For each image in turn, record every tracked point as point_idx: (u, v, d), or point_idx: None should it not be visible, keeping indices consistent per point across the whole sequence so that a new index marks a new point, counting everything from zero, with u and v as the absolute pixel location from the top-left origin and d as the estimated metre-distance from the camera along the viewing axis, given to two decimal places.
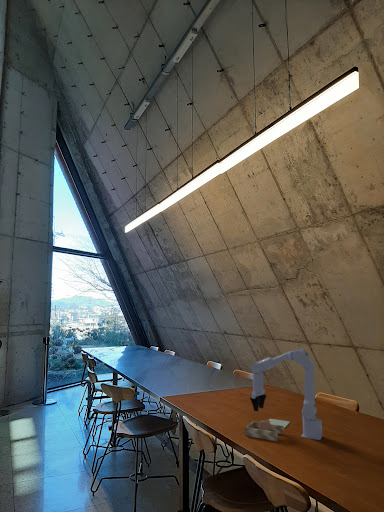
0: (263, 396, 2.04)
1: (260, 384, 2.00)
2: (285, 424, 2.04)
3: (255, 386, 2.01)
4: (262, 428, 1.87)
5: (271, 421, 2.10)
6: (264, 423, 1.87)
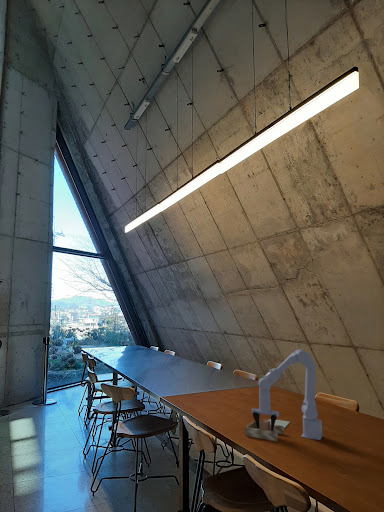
0: None
1: (269, 402, 1.89)
2: (285, 424, 2.04)
3: None
4: (262, 428, 1.87)
5: None
6: (264, 423, 1.87)
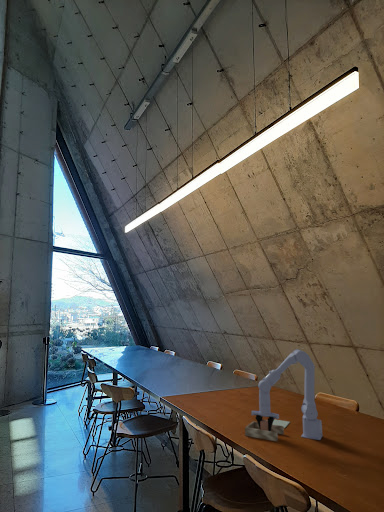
0: None
1: (269, 404, 1.88)
2: (285, 424, 2.04)
3: None
4: (262, 428, 1.87)
5: None
6: (264, 423, 1.87)
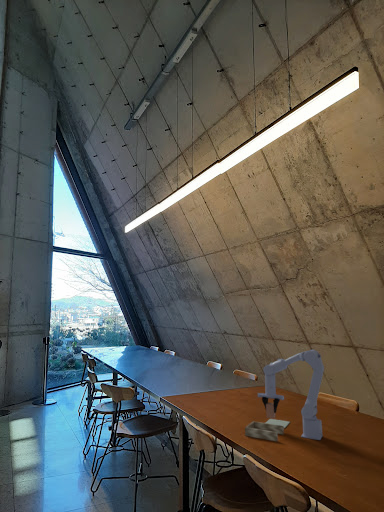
0: None
1: (272, 386, 1.99)
2: (285, 424, 2.04)
3: None
4: (268, 410, 1.97)
5: (271, 421, 2.10)
6: (270, 406, 1.97)
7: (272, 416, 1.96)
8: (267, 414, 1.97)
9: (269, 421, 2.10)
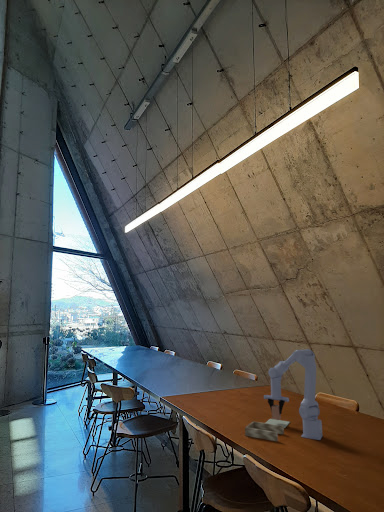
0: None
1: (275, 389, 2.07)
2: (285, 424, 2.04)
3: None
4: (273, 412, 2.06)
5: (271, 421, 2.10)
6: (275, 408, 2.06)
7: (277, 418, 2.05)
8: (273, 416, 2.06)
9: (269, 421, 2.10)
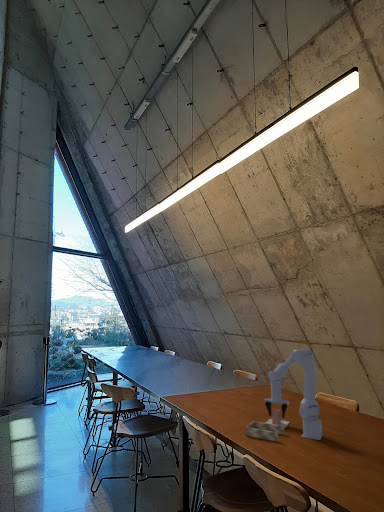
0: None
1: (276, 392, 2.07)
2: (285, 424, 2.04)
3: None
4: (273, 417, 2.06)
5: (271, 421, 2.10)
6: (275, 412, 2.06)
7: (278, 422, 2.04)
8: (273, 420, 2.06)
9: (269, 421, 2.10)
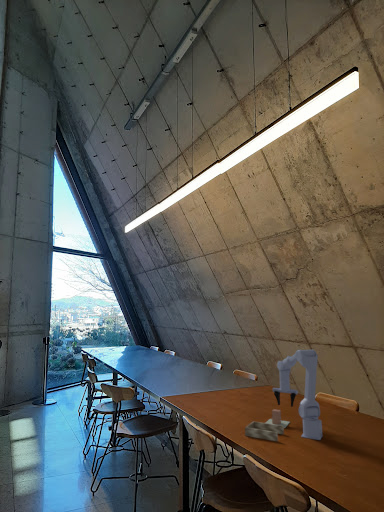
0: None
1: (283, 381, 2.11)
2: (285, 424, 2.04)
3: None
4: (273, 417, 2.06)
5: (271, 421, 2.10)
6: (275, 412, 2.06)
7: (278, 422, 2.04)
8: (273, 420, 2.06)
9: (269, 421, 2.10)
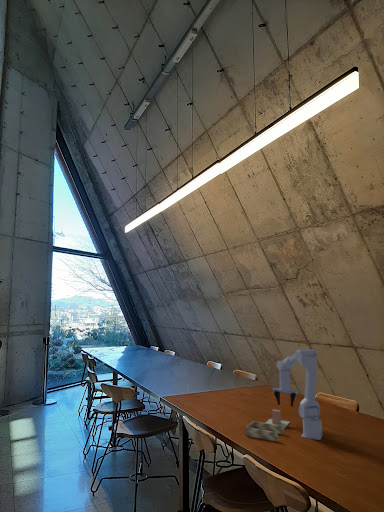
0: None
1: (283, 381, 2.11)
2: (285, 424, 2.04)
3: None
4: (273, 417, 2.06)
5: (271, 421, 2.10)
6: (275, 412, 2.06)
7: (278, 422, 2.04)
8: (273, 420, 2.06)
9: (269, 421, 2.10)
